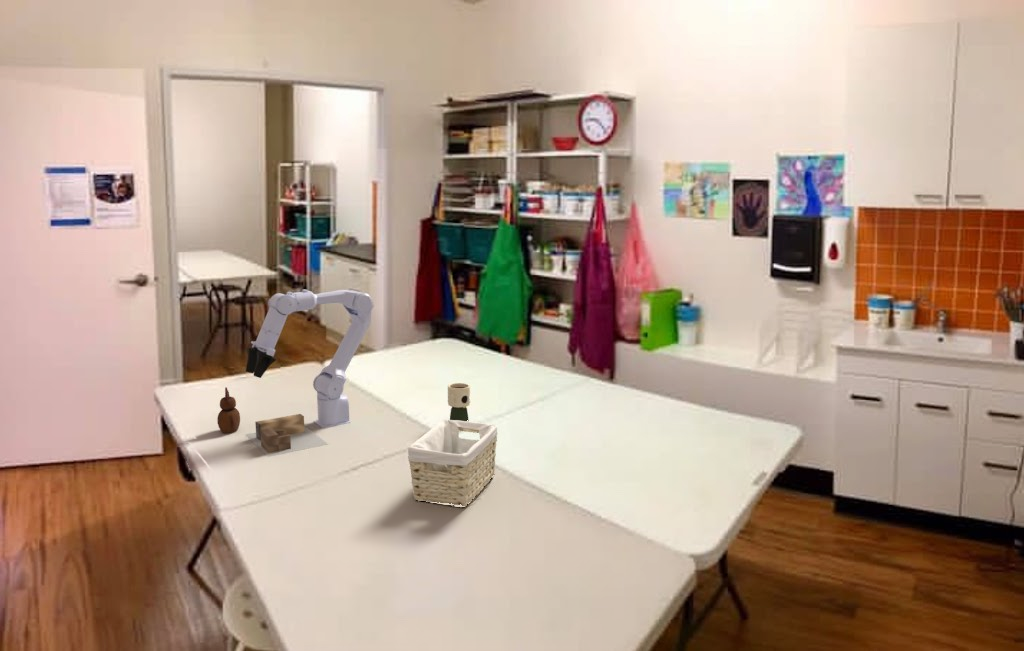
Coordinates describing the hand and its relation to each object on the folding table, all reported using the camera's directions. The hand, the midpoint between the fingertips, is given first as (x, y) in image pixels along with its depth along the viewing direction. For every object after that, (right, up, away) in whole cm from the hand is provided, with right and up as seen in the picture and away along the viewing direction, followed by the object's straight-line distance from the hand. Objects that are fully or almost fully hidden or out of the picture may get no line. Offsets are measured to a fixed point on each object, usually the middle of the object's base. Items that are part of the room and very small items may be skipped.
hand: (253, 374), depth 235 cm
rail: (+6, -19, +7) cm, 21 cm away
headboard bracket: (+8, -21, -3) cm, 23 cm away
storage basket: (+62, -28, -31) cm, 75 cm away
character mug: (+60, -18, +19) cm, 65 cm away
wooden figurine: (-11, -19, +10) cm, 24 cm away
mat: (+9, -20, +3) cm, 22 cm away
